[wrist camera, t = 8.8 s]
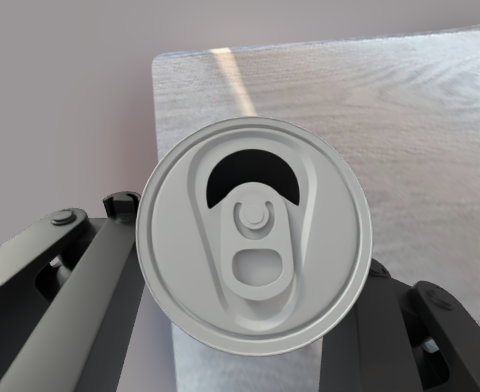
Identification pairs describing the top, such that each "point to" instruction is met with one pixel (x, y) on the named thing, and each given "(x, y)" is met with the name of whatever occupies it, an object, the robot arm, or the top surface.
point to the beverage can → (254, 236)
